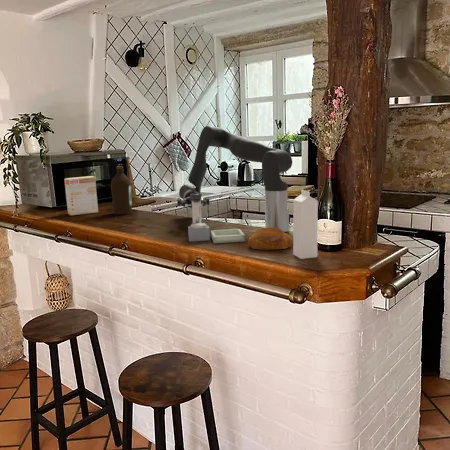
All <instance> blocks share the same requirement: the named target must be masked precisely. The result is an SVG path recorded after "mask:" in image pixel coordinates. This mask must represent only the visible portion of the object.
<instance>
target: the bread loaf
mask: <svg viewBox="0 0 450 450" xmlns="http://www.w3.org/2000/svg"><path fill="white" fill-rule="evenodd" d="M292 243H293V237H292V236H291V235H289V234H288V233H286V232H283V231H282V230H281V229H278V228H265V227H263V228H258V229H257V230H256V231H255V233H253V234H252V235H251V236H250V237H249V238H248V240H247V244H248V245H249V247H250V248H251V249H252V250H269V251H270V250H284V249H288V248H290V247H291V245H293V244H292Z"/></svg>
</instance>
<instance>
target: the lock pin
mask: <svg viewBox="0 0 450 450" xmlns="http://www.w3.org/2000/svg"><path fill="white" fill-rule="evenodd" d="M202 198H203V194H202V193H200V194H199V193H195V194H190V199H191V200H192V208H191V213H192V214H191V215H192V224H194V223H202V205H201V199H202Z"/></svg>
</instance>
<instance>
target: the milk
mask: <svg viewBox="0 0 450 450" xmlns="http://www.w3.org/2000/svg"><path fill="white" fill-rule="evenodd" d="M300 191H301V194H299V195H298V196H296V197H295V198H294V199H292V201H293V204H292V205H293V208H292V209H293V216H292V217H293V219H292V221H293V223H292V224H293V229H292V230H293V234H292V235H293V237H292V243H293V244H292V245H293V246H292V247H293V249H292V250H293V251H292V252H293V253H292V254H293V256H295V257H297V258H299V259H300V260H305V259H314V258H317V257H318V224H319V222H318V216H319V215H318V214H319V213H318V210H319V209H318V208H319V205H318V204H319V201H318V200H317V199H315V198H314V197H312V196H310V194H311V193H310V191H308V190H306V189H301V190H300Z"/></svg>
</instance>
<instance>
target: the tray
mask: <svg viewBox="0 0 450 450" xmlns="http://www.w3.org/2000/svg"><path fill="white" fill-rule="evenodd" d="M209 231H210V239H211V240H212V243H213V244H225V243H227V244H228V243H241V242H243V243H244V242H246V235H245V233H244V232H243V231H242V229H240V228H229V229H214V230H212V229H211V230H210V229H209Z"/></svg>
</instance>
